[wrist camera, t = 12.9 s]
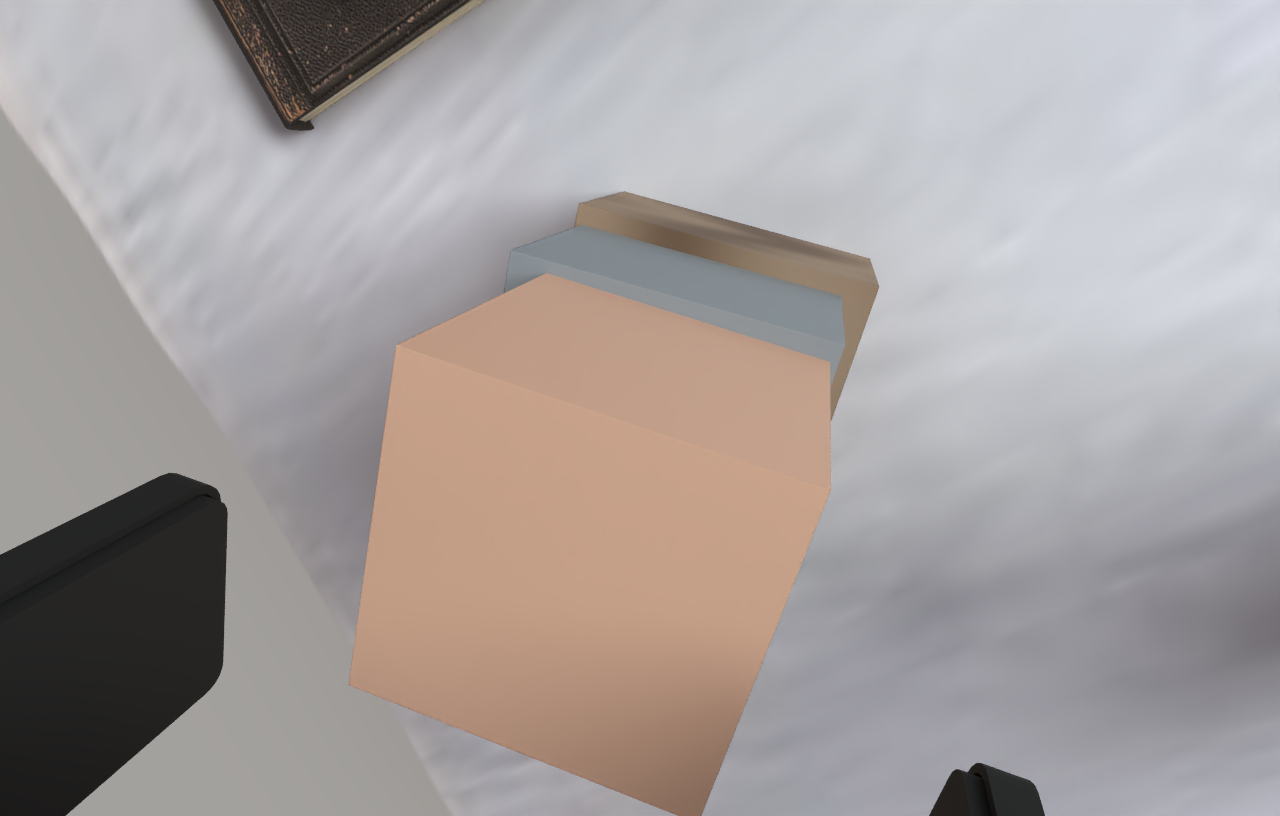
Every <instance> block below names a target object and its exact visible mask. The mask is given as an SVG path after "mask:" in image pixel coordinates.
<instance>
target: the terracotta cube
mask: <svg viewBox="0 0 1280 816" xmlns="http://www.w3.org/2000/svg"><path fill="white" fill-rule="evenodd" d="M830 491H831V417H830V362H829V361H826V360H822V359H819V358H816V357H813V356H810V355H806V354H803V353H800V352H797V351H794V350H791V349H787V348H784V347H781V346H778V345H775V344H771V343H768V342H765V341H762V340H759V339H755V338H752V337H749V336H746V335H743V334H740V333H736V332H733V331H730V330H727V329H724V328H720V327H717V326H714V325H711V324H708V323H704V322H701V321H698V320H695V319H692V318H688V317H685V316H682V315H679V314H676V313H673V312H669V311H666V310H663V309H660V308H657V307H653V306H650V305H647V304H644V303H641V302H637V301H634V300H631V299H628V298H625V297H621V296H618V295H615V294H612V293H609V292H606V291H602V290H599V289H596V288H593V287H590V286H586V285H583V284H580V283H577V282H574V281H570V280H567V279H564V278H561V277H558V276H554V275H551V274H548V273H546V274H543V275H541V276H539V277H537V278H535V279H533V280H531V281H529V282H527V283H525V284H523V285H521V286H518V287H516V288H514V289H512V290H510V291H508V292H506V293H504V294H502V295H500V296H498V297H496V298H493V299H491V300H489V301H487V302H485V303H483V304H481V305H479V306H477V307H475V308H473V309H471V310H468V311H466V312H464V313H462V314H460V315H458V316H456V317H454V318H452V319H450V320H448V321H445V322H443V323H441V324H439V325H437V326H435V327H433V328H431V329H429V330H427V331H425V332H423V333H420V334H418V335H416V336H414V337H412V338H410V339H408V340H406V341H404V342H402V343H400V344H398V345H396V351H395V358H394V365H393V372H392V379H391V386H390V393H389V400H388V407H387V415H386V422H385V429H384V436H383V443H382V450H381V457H380V464H379V471H378V478H377V486H376V493H375V500H374V507H373V514H372V521H371V528H370V535H369V542H368V550H367V557H366V564H365V571H364V578H363V585H362V592H361V599H360V606H359V613H358V621H357V628H356V635H355V642H354V649H353V656H352V663H351V670H350V677H349V685H350V686H353V687H356V688H358V689H360V690H363V691H366V692H368V693H370V694H373V695H375V696H378V697H381V698H383V699H386V700H388V701H391V702H393V703H396V704H398V705H401V706H403V707H406V708H408V709H411V710H413V711H416V712H418V713H421V714H423V715H426V716H428V717H431V718H433V719H436V720H438V721H441V722H443V723H446V724H449V725H451V726H454V727H456V728H459V729H461V730H464V731H466V732H469V733H471V734H474V735H476V736H479V737H481V738H484V739H486V740H489V741H491V742H494V743H496V744H499V745H501V746H504V747H506V748H509V749H512V750H514V751H517V752H519V753H522V754H524V755H527V756H529V757H532V758H534V759H537V760H539V761H542V762H544V763H547V764H549V765H552V766H554V767H557V768H559V769H562V770H564V771H567V772H570V773H572V774H575V775H577V776H580V777H582V778H585V779H587V780H590V781H592V782H595V783H597V784H600V785H602V786H605V787H607V788H610V789H612V790H615V791H617V792H620V793H622V794H625V795H627V796H630V797H633V798H635V799H638V800H640V801H643V802H645V803H648V804H650V805H653V806H655V807H658V808H660V809H663V810H665V811H668V812H670V813H673V814H675V815H678V816H701V815H702V813H703V810H704V808H705V805H706V803H707V800H708V797H709V795H710V792H711V790H712V787H713V785H714V782H715V780H716V777H717V775H718V772H719V770H720V767H721V765H722V762H723V760H724V757H725V755H726V752H727V750H728V747H729V745H730V742H731V740H732V737H733V735H734V732H735V730H736V727H737V725H738V722H739V720H740V717H741V715H742V712H743V710H744V707H745V705H746V702H747V700H748V697H749V695H750V692H751V690H752V687H753V684H754V682H755V679H756V677H757V674H758V672H759V669H760V667H761V664H762V662H763V659H764V657H765V654H766V652H767V649H768V647H769V644H770V642H771V639H772V637H773V634H774V632H775V629H776V627H777V624H778V622H779V619H780V617H781V614H782V612H783V609H784V607H785V604H786V602H787V599H788V597H789V594H790V592H791V589H792V587H793V584H794V582H795V579H796V576H797V574H798V571H799V569H800V566H801V564H802V561H803V559H804V556H805V554H806V551H807V549H808V546H809V544H810V541H811V539H812V536H813V534H814V531H815V529H816V526H817V524H818V521H819V519H820V516H821V514H822V511H823V509H824V506H825V504H826V501H827V499H828V496H829V494H830Z"/></svg>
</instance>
